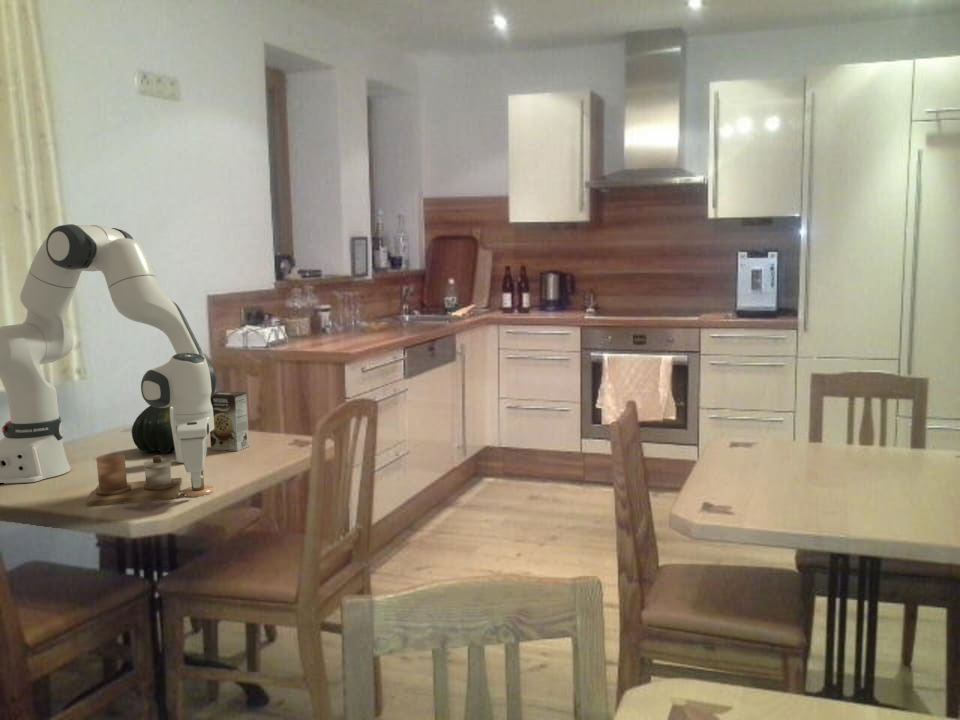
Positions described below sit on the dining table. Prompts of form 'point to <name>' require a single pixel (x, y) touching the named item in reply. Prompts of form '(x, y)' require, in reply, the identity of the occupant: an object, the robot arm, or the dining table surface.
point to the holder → (120, 491)
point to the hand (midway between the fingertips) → (198, 481)
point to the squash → (153, 430)
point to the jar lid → (198, 489)
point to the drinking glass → (176, 440)
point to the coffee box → (229, 421)
